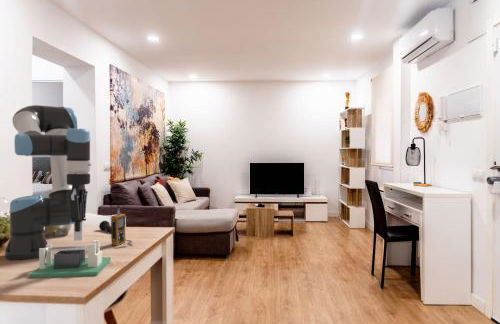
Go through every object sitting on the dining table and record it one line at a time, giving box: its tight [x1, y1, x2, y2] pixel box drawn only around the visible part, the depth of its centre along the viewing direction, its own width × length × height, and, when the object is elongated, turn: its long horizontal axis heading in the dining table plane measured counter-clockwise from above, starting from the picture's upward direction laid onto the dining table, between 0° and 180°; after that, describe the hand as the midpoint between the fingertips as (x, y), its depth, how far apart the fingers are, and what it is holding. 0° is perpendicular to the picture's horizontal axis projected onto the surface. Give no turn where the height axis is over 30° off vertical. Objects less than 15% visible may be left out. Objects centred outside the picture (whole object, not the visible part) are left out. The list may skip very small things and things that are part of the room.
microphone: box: [99, 220, 111, 234], centre depth 195 cm, size 5×5×19 cm
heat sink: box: [53, 249, 86, 269], centre depth 132 cm, size 8×8×5 cm
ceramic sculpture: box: [44, 224, 72, 238], centre depth 184 cm, size 11×9×15 cm
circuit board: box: [29, 239, 111, 279], centre depth 132 cm, size 21×18×9 cm
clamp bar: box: [45, 245, 88, 252], centre depth 132 cm, size 17×4×2 cm, turn 97°
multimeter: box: [110, 198, 135, 249], centre depth 168 cm, size 15×10×20 cm
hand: (78, 240), depth 132 cm, fingers closed
